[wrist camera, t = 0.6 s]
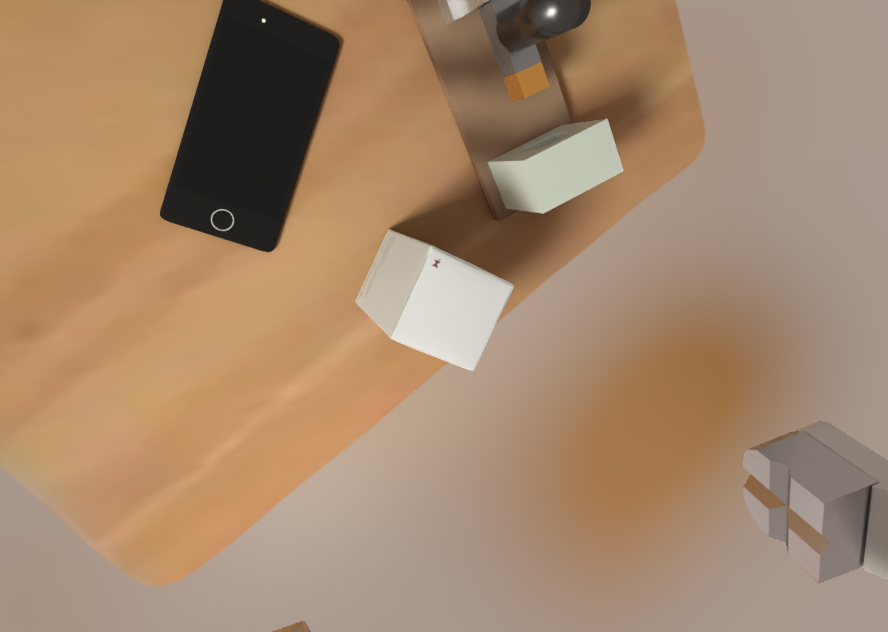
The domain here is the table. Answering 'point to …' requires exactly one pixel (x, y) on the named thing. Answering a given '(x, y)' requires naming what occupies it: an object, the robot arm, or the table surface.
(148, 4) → the table surface
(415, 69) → the table surface
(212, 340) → the table surface
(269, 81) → the cell phone
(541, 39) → the slide bolt
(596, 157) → the socket
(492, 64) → the base board
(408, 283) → the supplement box
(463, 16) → the sleeve
